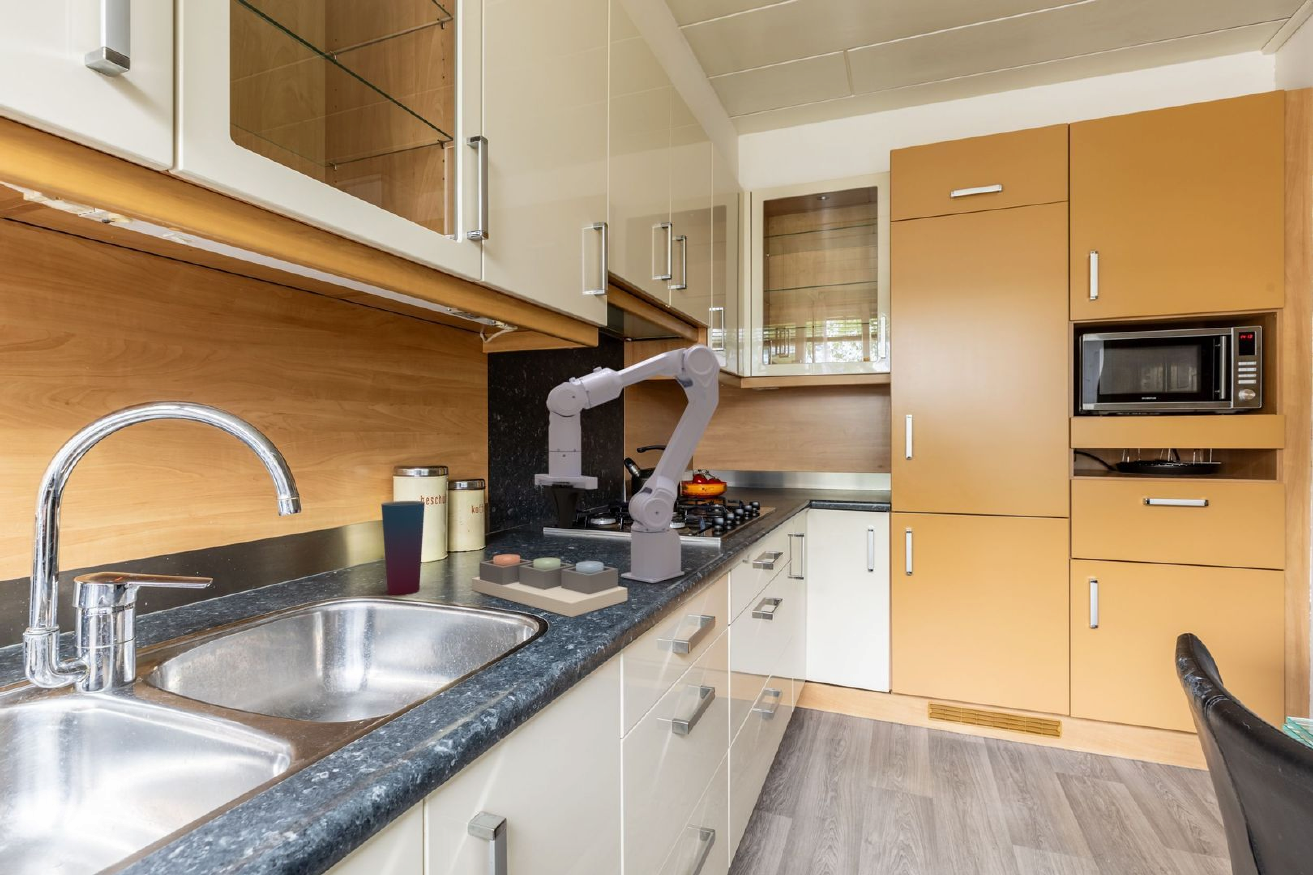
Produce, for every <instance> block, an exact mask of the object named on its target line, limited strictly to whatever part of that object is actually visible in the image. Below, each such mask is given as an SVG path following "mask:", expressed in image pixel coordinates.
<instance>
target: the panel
mask: <svg viewBox="0 0 1313 875" xmlns="http://www.w3.org/2000/svg"><path fill="white" fill-rule="evenodd" d="M471 590H472V591H473V592H478V593H482V594H485V595H489V596H492V597H496V598H500V599H503V600H507V601H510V602H515V603H518V604H522V605H525V606H529V607H532V608H537V609H541V610H544V611H548V612H551V613H554V614H558V615H563V616H566V617H569V618H574V617H576V616H580V615H584V614H587V613H591V612H593V611H597V610H601V609H604V608H607V607H610V606H614V605H617V604H621V603H625V602H628V587H623V586H619V569H618V568H615V567H611V566H610V567H609V566H605V565H603V571H602V572H597V573H593V574H585V573H580V572H576V564H570V563H565V562H561V561H560V567H559V568H554V569H549V570H541V569H536V568H534V560H533V561H532V560H528V559H523V558H522V559H521V558H520V563H519V564H514V565H509V566H504V567H503V566H499V565H494V564H493V559H491V560H487V561H485V560H484V561H481V562H479V576H476V577H472V578H471Z"/></svg>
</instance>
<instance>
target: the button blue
mask: <svg viewBox="0 0 1313 875" xmlns="http://www.w3.org/2000/svg"><path fill="white" fill-rule="evenodd" d="M603 566H604V563H603V562H602V561H595V560H590V561H587V560H586V561H579V562H577V563H576V564H575V567H576V572H580V573H585V574H593V573H597V572H602V571H603Z"/></svg>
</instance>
